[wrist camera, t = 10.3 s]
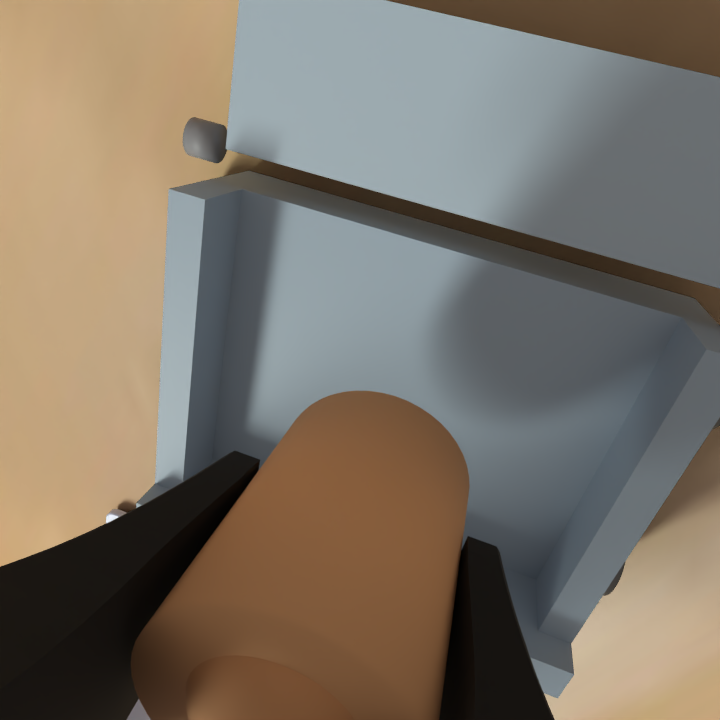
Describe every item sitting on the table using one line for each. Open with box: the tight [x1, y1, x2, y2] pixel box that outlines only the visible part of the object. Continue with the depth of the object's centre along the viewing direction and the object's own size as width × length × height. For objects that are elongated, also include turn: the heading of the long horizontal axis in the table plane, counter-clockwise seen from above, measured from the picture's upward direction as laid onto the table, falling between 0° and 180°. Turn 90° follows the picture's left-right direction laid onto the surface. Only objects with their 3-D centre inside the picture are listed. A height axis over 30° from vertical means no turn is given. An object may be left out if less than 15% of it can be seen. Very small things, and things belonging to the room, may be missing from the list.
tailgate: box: [226, 0, 720, 288], centre depth 13 cm, size 1×13×4 cm
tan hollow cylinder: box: [131, 391, 470, 720], centre depth 10 cm, size 5×5×7 cm
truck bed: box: [136, 117, 720, 698], centre depth 16 cm, size 12×17×6 cm
